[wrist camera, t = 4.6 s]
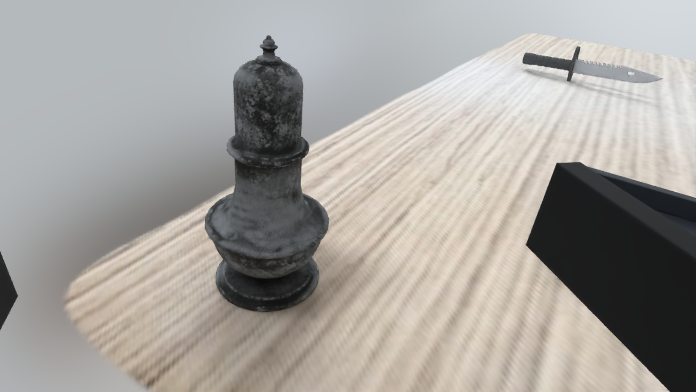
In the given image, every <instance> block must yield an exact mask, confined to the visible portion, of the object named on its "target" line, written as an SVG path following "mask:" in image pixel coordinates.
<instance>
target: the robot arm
mask: <svg viewBox="0 0 696 392" xmlns="http://www.w3.org/2000/svg"><path fill="white" fill-rule="evenodd" d="M526 246H527V247H528V248H529V249H530V250H531V251H532V252H533V253H534V254H535V255H536V256H537V257H538V258H539V259H540V260H541V261H542V262H543V263H544V264H545V265H546V266H547V267H548V268H549V269H550V270H551V271H552V272H553V273H554V274H555V275H556V276H557V277H558V278H559V279H560V280H561V281H562V282H563V283H564V284H565V285H566V286H567V287H568V288H569V289H570V290H571V291H572V292H573V293H574V295H575V296H576V297H577V298H578V299H579V300H580V301H581V302H582V303H583V304H584V305H585V306H586V307H587V308H588V309H589V310H590V311H591V312H592V313H593V314H594V315H595V316H596V317H597V318H598V319H599V320H600V321H601V322H602V323H603V324H604V325H605V326H606V327H607V328H608V329H609V330H610V331H611V332H612V333H613V334H614V335H615V336H616V337H617V338H618V339H619V340H620V341H621V342H622V343H623V344H624V345H625V346H626V347H627V348H628V349H629V350H630V351H631V353H632V354H633V355H634V356H635V357H636V358H637V359H638V360H639V361H640V362H641V363H642V364H643V365H644V366H645V367H646V368H647V369H648V370H649V371H650V372H651V373H652V374H653V375H654V376H655V377H656V378H657V379H658V380H659V381H660V382H661V383H662V384H663V385H664V386H665V387H666V388H667V389H668V390H669V391H670V392H696V237H695V236H694V235H692V234H691V233H689V232H688V231H686V230H685V229H683V228H681V227H680V226H678V225H677V224H675V223H674V222H672V221H671V220H669V219H667V218H666V217H664V216H663V215H661V214H660V213H658V212H657V211H655V210H653V209H652V208H650V207H649V206H647V205H646V204H644V203H643V202H641V201H640V200H638V199H636V198H635V197H633V196H632V195H630V194H629V193H627V192H626V191H624V190H622V189H621V188H619V187H618V186H616V185H615V184H613V183H612V182H610V181H608V180H607V179H605V178H604V177H602V176H601V175H599V174H598V173H596V172H594V171H593V170H591V169H590V168H588V167H587V166H585V165H584V164H582V163H580V162H572V163H557V164H556V166H555V169H554V172H553V174H552V177H551V180H550V182H549V185H548V188H547V190H546V193H545V196H544V198H543V201H542V204H541V206H540V209H539V212H538V214H537V217H536V219H535V222H534V225H533V227H532V230H531V233H530V235H529V238H528V241H527V243H526ZM17 297H18V295H17V293H16V290H15V288H14V285H13V282H12V280H11V277H10V275H9V273H8V270H7V267H6V265H5V262H4V260H3V258H2V255H1V252H0V329H1V328H2V325H3V323H4V322H5V320H6V318H7V316H8V314H9V312H10V310H11V308H12V306H13V304H14V303H15V301H16V299H17Z"/></svg>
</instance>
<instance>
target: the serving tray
mask: <svg viewBox="0 0 696 392" xmlns="http://www.w3.org/2000/svg"><path fill="white" fill-rule="evenodd" d="M588 168H590V167H588ZM590 169H591V170H593V171H594V172H596V173H598V174H599V175H601V176H602V177H604V178H605V179H607V180H608V181H610V182H612V183H613V184H615V185H616V186H618V187H619V188H621V189H622V190H624V191H626V192H627V193H629V194H630V195H632V196H633V197H635V198H636V199H638V200H640V201H641V202H643V203H644V204H646V205H647V206H649V207H650V208H652V209H653V210H655V211H657V212H658V213H660V214H661V215H663V216H664V217H666V218H667V219H669V220H671V221H672V222H674V223H675V224H677V225H678V226H680V227H681V228H683V229H685V230H686V231H688V232H689V233H691V234H692V235H694V236H695V237H696V198H694V197H691V196H687V195H684V194H680V193H677V192H674V191H670V190H667V189H663V188H660V187H656V186H653V185H649V184H646V183H642V182H639V181H635V180H632V179H629V178H625V177H622V176H618V175H615V174H611V173H608V172H604V171H601V170H597V169H594V168H590Z"/></svg>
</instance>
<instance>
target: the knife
mask: <svg viewBox="0 0 696 392" xmlns="http://www.w3.org/2000/svg"><path fill="white" fill-rule="evenodd" d="M579 52H580V47H577V48H576V50H575V53H574V56H573V59H572V60H565V59H561V58H560V59H559V58H554V57H553V58H552V57H548V56H546V57H545V56H542V55H536V54H532V53H525V55H524V57H523V64H529V65H538V66H544V67H550V68H557V69H563V70H568V71H569V74H568V78H567V81H570V80H571V78H572V75H573V73H579V74H583V75H590V76H596V77H602V78H607V79H613V80H619V81H625V82H633V83H649V82H654V81H658V80H661V79H663V78H660V77H657V76H654V75H651V74H647V73H644V72H641V71H638V70H635V69H632V68H629V67H626V66H621V68H620V67H619V66H618V65H617V68H615V65H612V67H611V66H610V64H608V66H606V64H605V63H603V66H602V65H601V63H599V65H597V62H594V63H595V64H593V62H591V61H590V64H589V63H588V61H586V63H584V60H578V55H579ZM628 72H634V73H635V74H634V75H633V76H632V75H628Z"/></svg>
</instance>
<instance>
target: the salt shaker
mask: <svg viewBox="0 0 696 392" xmlns="http://www.w3.org/2000/svg"><path fill="white" fill-rule="evenodd" d="M260 47H261V48H262V49H263V55H262V56H258V57H257V58H256V59H255V60H252V61H249V62H247V63H245V64H244V65H242V66H241V67H240V68H239V69H238V71H237V72H236V73H235V76H234V81H233V86H234V112H235V136H233V137H232V138H230V140H229V141H228V143H227V151H228V153H229V154H230V155H231V156H232V157H234V158H235V181H236V184H235V189H234V193H232V194H229V195H227V196H226V197H224V198H222V199H220V200H219V201H217V202H216V203H215V204H214V205H213V206H212V207H211V208H210V209H209V211H208V213H207V215H206V217H205V229H206V232H207V234H208V236H209V238H210V239H211V240H212V241H213V242H214V244H215V246H216V249H217V251H218V252H219V254H220V255H221V257H222V258H223V261H222V262H221V263H220V264H219V267H218V269H217V272H216V284H217V287H218V289H219V291H220V293H221V294H222V295H223V296H224V297H225V298H226V299H227V300H228V301H230V302H231V303H233V304H235V305H237V306H238V307H242V308H245V309H249V310H254V311H275V310H282V309H285V308H288V307H291V306H294V305H296V304H298V303H299V302H301V301H303V300H305V299H306V298H307V297H308V296H309V295H310V294H311V293H312V292H313V291H314V289H315V287H316V285H317V283H318V274H319V271H318V268H317V264H316V262H315V261H314V260H313V258H312V256H313V254H314V253H315V251H316V249H317V247H318V246H319V244H320V241H321V239H323V237H324V236H325V234H326V232H327V230H328V224H329V218H328V215H327V212H326V210H325V209H324V208H323V207H322V206H321V204H320V203H319V202H318V201H316V200H315V199H313V198H311V197H310V196H308V195H306V194H303V193H302V189H301V165H302V159H303V158H304V157H305V156H306V155H307V154H308V152H309V145H308V142H307V141H306V140H305V139H303V137H301V126H302V102H303V81H302V78H301V76H300V74H299V73H298V71H297V70H296V69H295V68H294V67H292V66H291V65H290V64H288V63H286V62H283V61H282V60H281V59H280V58H279V57H277V56H275V53H274V51H275V49H277V48H278V46H276V45H275V42H274V41H273V39H271V36H269V35H268V36H267V38H266V39H265V40H264V41H263V44H262V45H260Z"/></svg>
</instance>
